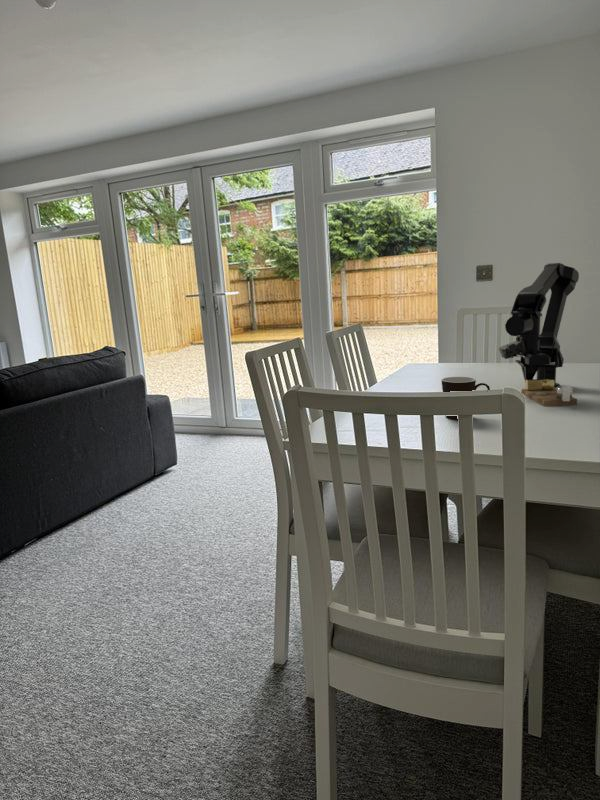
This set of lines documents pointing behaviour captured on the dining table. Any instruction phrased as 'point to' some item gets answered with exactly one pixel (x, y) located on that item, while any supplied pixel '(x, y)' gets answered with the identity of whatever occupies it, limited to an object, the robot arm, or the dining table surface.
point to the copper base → (547, 397)
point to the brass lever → (539, 384)
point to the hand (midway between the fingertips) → (527, 384)
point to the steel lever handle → (564, 393)
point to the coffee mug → (459, 386)
